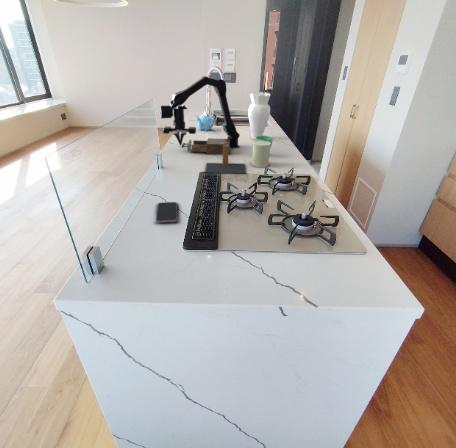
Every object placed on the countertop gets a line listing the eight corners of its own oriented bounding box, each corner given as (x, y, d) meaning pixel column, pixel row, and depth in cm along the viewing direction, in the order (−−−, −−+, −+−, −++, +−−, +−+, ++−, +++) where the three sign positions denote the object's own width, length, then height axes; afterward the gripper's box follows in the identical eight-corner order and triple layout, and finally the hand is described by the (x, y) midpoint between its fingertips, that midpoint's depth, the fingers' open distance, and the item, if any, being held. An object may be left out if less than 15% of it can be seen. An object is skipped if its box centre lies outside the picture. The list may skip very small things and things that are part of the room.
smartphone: (176, 202, 112) (177, 219, 99) (177, 204, 112) (177, 222, 99) (158, 202, 111) (155, 221, 98) (158, 205, 111) (155, 223, 98)
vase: (242, 138, 198) (245, 93, 183) (252, 134, 209) (255, 91, 194) (261, 142, 192) (266, 95, 177) (270, 137, 202) (275, 93, 187)
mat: (244, 164, 153) (244, 163, 153) (245, 174, 141) (245, 173, 141) (207, 163, 153) (207, 163, 153) (205, 173, 141) (205, 172, 141)
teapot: (214, 131, 216) (215, 117, 210) (197, 132, 214) (197, 117, 208) (212, 127, 227) (212, 114, 221) (195, 128, 224) (195, 114, 219)
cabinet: (206, 154, 167) (206, 143, 164) (207, 148, 178) (207, 138, 175) (229, 154, 167) (230, 144, 164) (229, 148, 178) (229, 138, 175)
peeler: (222, 165, 150) (222, 143, 144) (222, 163, 153) (222, 141, 147) (228, 165, 150) (229, 143, 144) (228, 163, 153) (229, 141, 147)
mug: (271, 158, 163) (273, 140, 158) (254, 157, 164) (256, 139, 159) (270, 150, 176) (272, 134, 170) (254, 149, 176) (255, 133, 171)
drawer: (181, 152, 167) (180, 144, 165) (183, 146, 177) (183, 139, 175) (208, 152, 167) (208, 145, 165) (209, 147, 177) (209, 140, 175)
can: (270, 162, 156) (272, 140, 150) (266, 168, 149) (269, 145, 142) (253, 160, 159) (255, 138, 152) (249, 165, 151) (251, 143, 145)
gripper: (196, 115, 169) (197, 141, 178) (165, 114, 170) (167, 141, 178) (194, 118, 160) (195, 146, 168) (161, 118, 160) (164, 146, 168)
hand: (180, 144), depth 171 cm, fingers closed
